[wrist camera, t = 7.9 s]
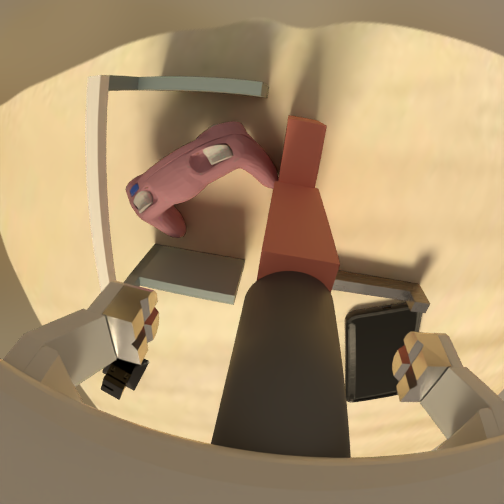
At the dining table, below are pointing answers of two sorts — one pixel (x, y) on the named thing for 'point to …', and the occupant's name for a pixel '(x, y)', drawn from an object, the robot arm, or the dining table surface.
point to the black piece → (122, 376)
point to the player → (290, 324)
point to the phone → (375, 349)
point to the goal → (159, 257)
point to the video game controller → (196, 174)
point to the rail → (382, 289)
